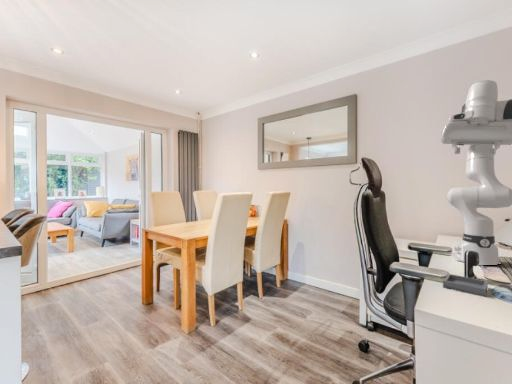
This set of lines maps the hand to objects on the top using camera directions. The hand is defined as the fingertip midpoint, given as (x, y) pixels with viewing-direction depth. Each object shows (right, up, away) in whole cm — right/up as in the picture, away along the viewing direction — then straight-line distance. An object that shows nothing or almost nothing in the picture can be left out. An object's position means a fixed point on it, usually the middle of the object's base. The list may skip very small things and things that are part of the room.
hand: (474, 153), depth 87 cm
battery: (+11, -49, +14) cm, 53 cm away
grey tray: (+1, -49, +5) cm, 49 cm away
